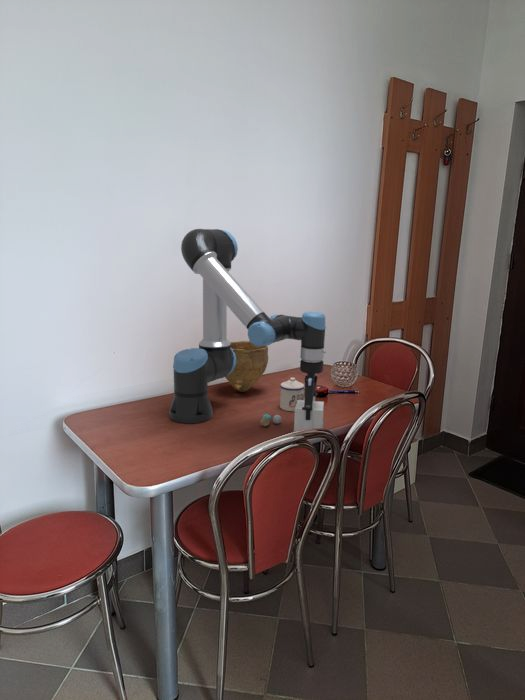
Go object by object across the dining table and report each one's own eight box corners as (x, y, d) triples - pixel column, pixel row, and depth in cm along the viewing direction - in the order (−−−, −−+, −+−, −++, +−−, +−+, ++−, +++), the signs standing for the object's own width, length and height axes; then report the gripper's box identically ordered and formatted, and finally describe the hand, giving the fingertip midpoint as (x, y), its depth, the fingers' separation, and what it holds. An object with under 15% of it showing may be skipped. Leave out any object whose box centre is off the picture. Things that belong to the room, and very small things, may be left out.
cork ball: (259, 427, 170) (260, 419, 170) (261, 424, 173) (261, 415, 173) (268, 428, 170) (269, 419, 169) (270, 424, 173) (270, 416, 172)
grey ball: (272, 424, 173) (272, 416, 173) (273, 421, 176) (273, 413, 175) (280, 425, 173) (281, 416, 172) (281, 422, 176) (282, 413, 175)
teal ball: (261, 423, 174) (261, 415, 173) (263, 420, 177) (263, 412, 176) (270, 424, 173) (270, 416, 173) (271, 421, 176) (271, 413, 176)
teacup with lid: (290, 413, 184) (291, 382, 182) (274, 406, 191) (275, 377, 189) (314, 407, 191) (315, 377, 189) (298, 401, 198) (299, 372, 196)
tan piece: (208, 395, 203) (208, 346, 199) (230, 382, 221) (230, 337, 217) (255, 402, 195) (256, 352, 191) (274, 388, 214) (276, 342, 209)
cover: (294, 431, 166) (294, 408, 165) (296, 421, 175) (297, 399, 173) (321, 433, 165) (322, 410, 163) (322, 423, 174) (323, 401, 172)
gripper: (321, 370, 152) (318, 436, 157) (325, 351, 176) (322, 409, 181) (296, 368, 153) (294, 434, 158) (303, 350, 177) (301, 408, 182)
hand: (309, 421), depth 169 cm, fingers open, 13 cm apart
